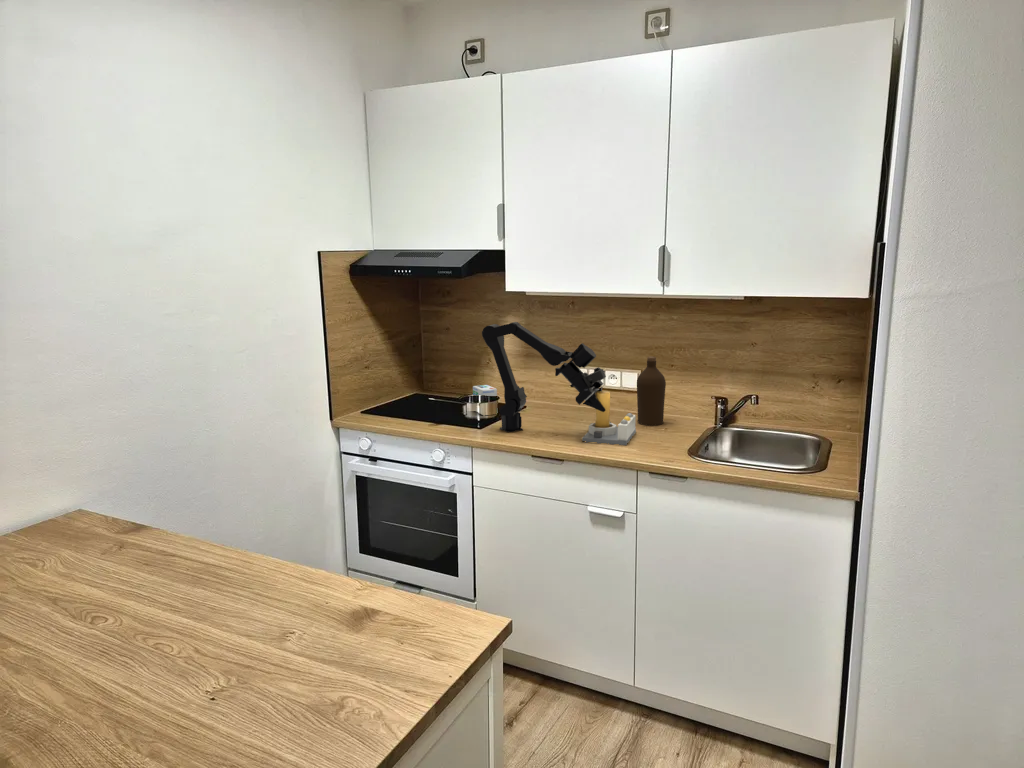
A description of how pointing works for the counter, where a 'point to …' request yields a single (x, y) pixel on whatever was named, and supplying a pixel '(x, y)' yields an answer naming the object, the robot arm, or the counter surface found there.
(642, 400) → the olive oil
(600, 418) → the cap
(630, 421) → the ball rail dock
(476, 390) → the light bulb box
